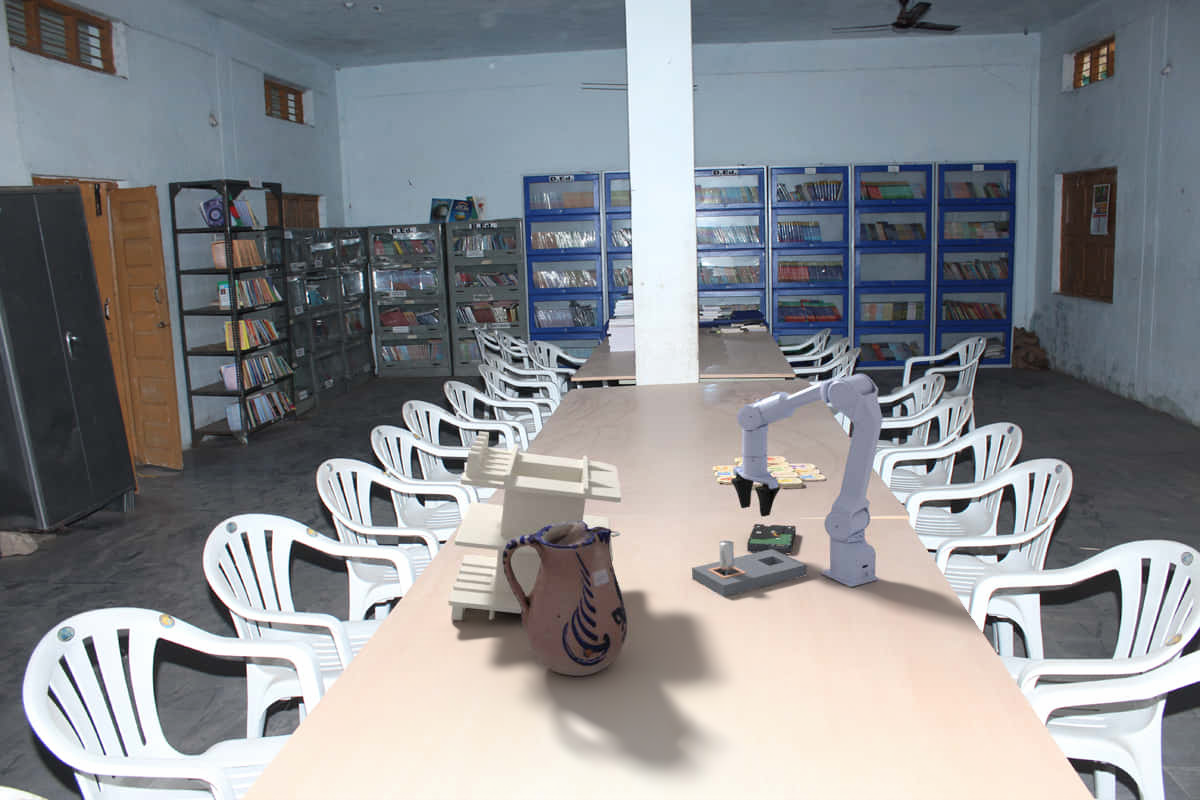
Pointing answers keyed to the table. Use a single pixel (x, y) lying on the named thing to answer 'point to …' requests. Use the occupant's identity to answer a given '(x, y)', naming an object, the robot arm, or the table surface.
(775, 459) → the alphabet tiles
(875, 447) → the robot arm
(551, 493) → the desk organizer
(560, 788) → the table surface
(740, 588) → the dock plate
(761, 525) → the disk drive
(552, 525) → the ceramic pitcher
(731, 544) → the steel pin
